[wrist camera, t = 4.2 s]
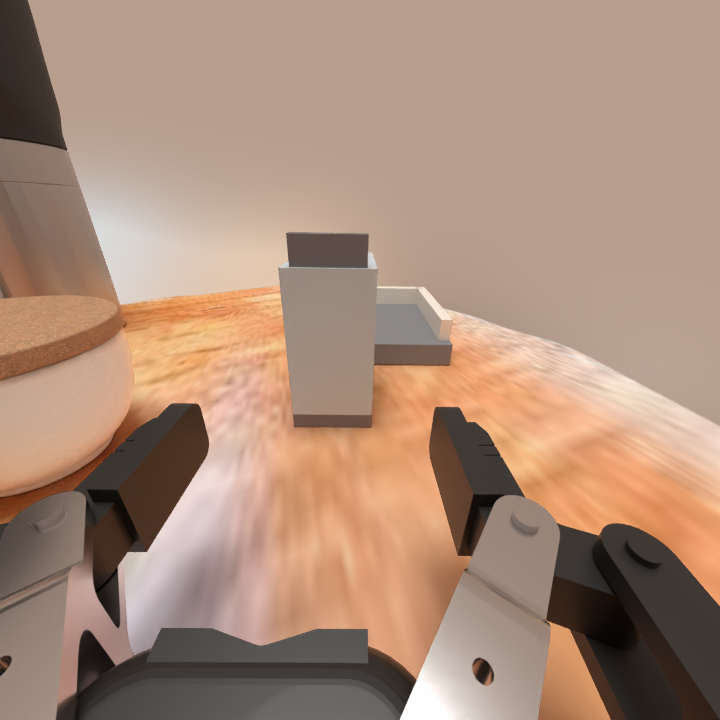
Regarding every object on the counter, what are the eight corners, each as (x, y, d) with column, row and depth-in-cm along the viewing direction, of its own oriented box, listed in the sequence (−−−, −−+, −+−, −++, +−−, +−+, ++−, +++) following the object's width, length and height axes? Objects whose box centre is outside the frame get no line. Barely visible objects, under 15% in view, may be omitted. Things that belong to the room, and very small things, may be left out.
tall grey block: (294, 427, 20) (274, 233, 15) (309, 374, 26) (299, 226, 21) (371, 427, 20) (378, 234, 15) (368, 375, 26) (372, 228, 21)
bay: (340, 339, 28) (340, 318, 27) (345, 301, 39) (345, 285, 39) (449, 340, 28) (452, 319, 27) (422, 302, 40) (424, 287, 39)
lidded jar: (192, 404, 22) (155, 269, 18) (39, 557, 12) (-121, 339, 8) (52, 396, 22) (-15, 264, 18) (-198, 535, 13) (-457, 323, 9)
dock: (340, 363, 28) (339, 343, 27) (345, 316, 40) (345, 301, 39) (449, 365, 28) (452, 345, 27) (420, 317, 40) (422, 302, 40)
